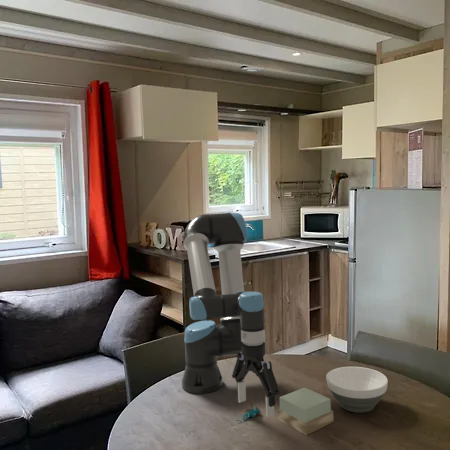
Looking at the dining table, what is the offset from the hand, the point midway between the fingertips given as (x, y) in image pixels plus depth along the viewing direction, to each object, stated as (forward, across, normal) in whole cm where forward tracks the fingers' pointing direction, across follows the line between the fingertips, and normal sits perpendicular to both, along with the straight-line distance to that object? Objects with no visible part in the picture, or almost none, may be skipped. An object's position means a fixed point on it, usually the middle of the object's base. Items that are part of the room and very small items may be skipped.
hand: (255, 408), depth 152 cm
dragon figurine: (+4, -3, 0) cm, 5 cm away
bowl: (+4, +14, +31) cm, 35 cm away
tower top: (0, +11, +11) cm, 15 cm away
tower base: (+4, +10, +11) cm, 16 cm away
